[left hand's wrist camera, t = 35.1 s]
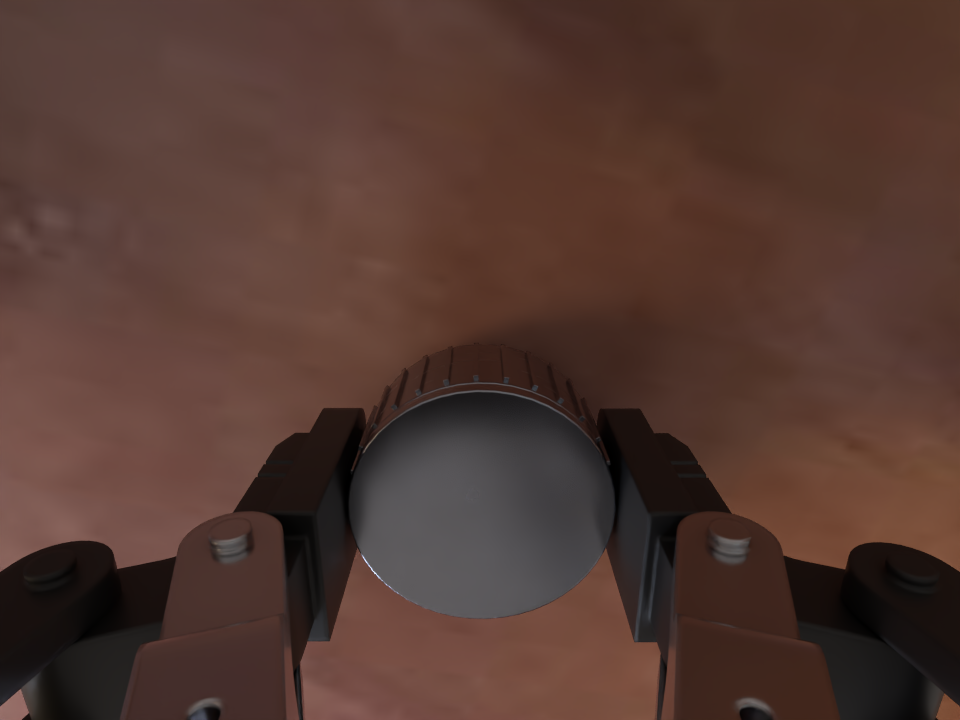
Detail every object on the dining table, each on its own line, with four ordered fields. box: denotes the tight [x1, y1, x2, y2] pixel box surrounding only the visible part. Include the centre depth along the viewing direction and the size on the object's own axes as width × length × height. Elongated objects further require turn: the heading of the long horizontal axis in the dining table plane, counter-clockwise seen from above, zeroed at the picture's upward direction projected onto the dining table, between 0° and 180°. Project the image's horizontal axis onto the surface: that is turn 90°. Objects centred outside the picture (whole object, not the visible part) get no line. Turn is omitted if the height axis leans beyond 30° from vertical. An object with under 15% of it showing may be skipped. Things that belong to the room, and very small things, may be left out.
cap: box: [347, 343, 616, 619], centre depth 11 cm, size 4×4×2 cm
